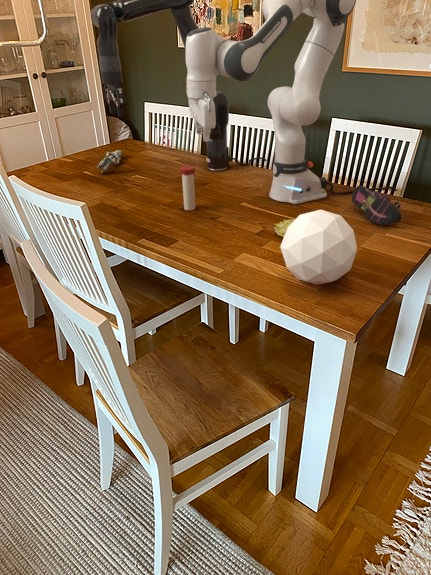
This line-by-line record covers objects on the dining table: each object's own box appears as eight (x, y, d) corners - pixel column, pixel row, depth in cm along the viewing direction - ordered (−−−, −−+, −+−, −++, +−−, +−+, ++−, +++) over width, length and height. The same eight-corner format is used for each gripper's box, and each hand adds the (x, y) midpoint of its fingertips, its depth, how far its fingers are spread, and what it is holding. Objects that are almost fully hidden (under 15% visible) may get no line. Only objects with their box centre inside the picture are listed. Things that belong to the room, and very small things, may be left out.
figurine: (101, 154, 197) (119, 141, 223) (91, 167, 200) (110, 152, 227) (114, 165, 199) (130, 151, 225) (103, 178, 203) (121, 162, 229)
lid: (188, 169, 162) (188, 164, 161) (197, 172, 159) (197, 167, 158) (177, 172, 160) (177, 168, 159) (186, 176, 156) (186, 171, 155)
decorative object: (286, 211, 157) (342, 219, 147) (286, 217, 158) (341, 226, 148) (260, 233, 142) (319, 243, 133) (260, 240, 144) (319, 251, 134)
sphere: (293, 297, 126) (258, 236, 124) (350, 261, 128) (317, 201, 126) (319, 302, 107) (278, 231, 105) (385, 260, 109) (347, 189, 107)
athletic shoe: (393, 214, 141) (421, 210, 145) (357, 172, 153) (384, 169, 157) (376, 239, 150) (403, 235, 154) (344, 197, 161) (370, 194, 166)
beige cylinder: (190, 205, 169) (188, 166, 161) (197, 208, 167) (195, 169, 158) (181, 208, 167) (179, 169, 159) (189, 211, 164) (186, 171, 156)
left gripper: (127, 70, 159) (133, 117, 168) (113, 66, 169) (119, 111, 178) (107, 71, 156) (114, 120, 164) (94, 68, 166) (101, 113, 175)
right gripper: (220, 95, 125) (221, 144, 133) (203, 85, 142) (205, 129, 149) (199, 96, 124) (200, 146, 131) (184, 86, 141) (186, 131, 148)
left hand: (117, 115), depth 171 cm, fingers open, 8 cm apart
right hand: (202, 137), depth 140 cm, fingers open, 8 cm apart
